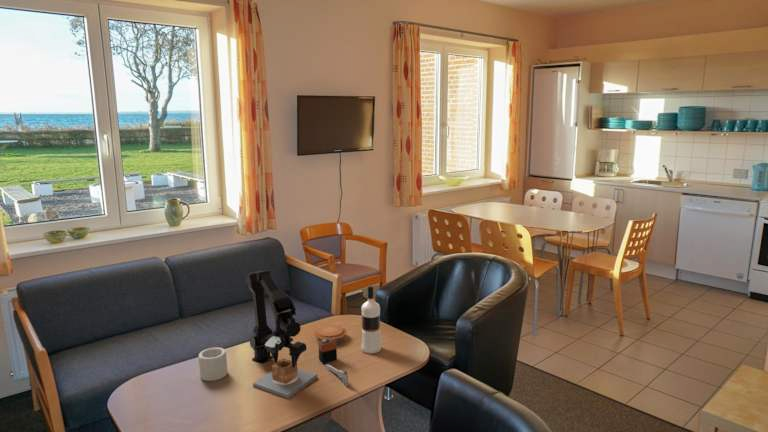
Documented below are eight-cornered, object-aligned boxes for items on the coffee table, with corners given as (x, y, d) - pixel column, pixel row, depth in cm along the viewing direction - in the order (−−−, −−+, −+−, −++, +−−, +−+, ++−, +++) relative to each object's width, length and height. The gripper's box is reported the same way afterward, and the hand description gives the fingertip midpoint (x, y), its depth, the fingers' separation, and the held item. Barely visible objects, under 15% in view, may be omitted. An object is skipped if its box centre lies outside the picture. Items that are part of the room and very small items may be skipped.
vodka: (367, 356, 230) (365, 291, 224) (357, 348, 238) (356, 285, 232) (385, 351, 234) (384, 287, 228) (375, 343, 242) (374, 282, 236)
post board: (253, 386, 206) (252, 372, 205) (283, 367, 221) (282, 353, 220) (288, 398, 197) (287, 384, 196) (317, 377, 212) (316, 364, 211)
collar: (272, 379, 207) (271, 365, 206) (284, 371, 213) (283, 358, 212) (286, 384, 204) (285, 369, 203) (297, 376, 210) (297, 362, 209)
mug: (232, 374, 215) (230, 352, 213) (208, 384, 208) (206, 361, 206) (215, 364, 225) (213, 342, 222) (192, 373, 217) (190, 351, 215)
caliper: (348, 387, 205) (348, 372, 204) (346, 387, 205) (345, 373, 203) (326, 365, 222) (326, 352, 221) (324, 366, 222) (324, 352, 221)
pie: (338, 348, 238) (338, 338, 237) (308, 343, 243) (307, 333, 242) (351, 335, 252) (351, 325, 251) (323, 330, 257) (322, 321, 256)
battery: (318, 360, 227) (318, 339, 225) (333, 356, 230) (332, 335, 228) (322, 364, 223) (322, 342, 221) (337, 360, 226) (336, 339, 224)
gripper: (250, 330, 202) (253, 367, 205) (287, 340, 193) (289, 379, 196) (270, 320, 211) (272, 355, 215) (306, 329, 202) (308, 366, 205)
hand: (284, 364), depth 207 cm, fingers open, 9 cm apart
